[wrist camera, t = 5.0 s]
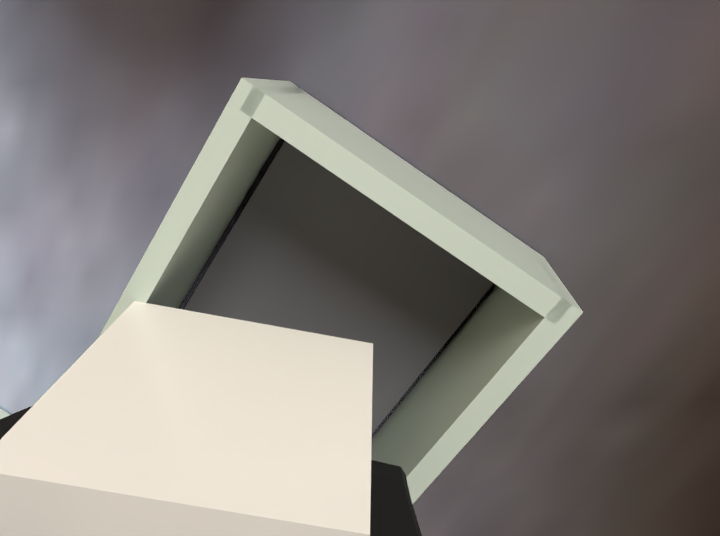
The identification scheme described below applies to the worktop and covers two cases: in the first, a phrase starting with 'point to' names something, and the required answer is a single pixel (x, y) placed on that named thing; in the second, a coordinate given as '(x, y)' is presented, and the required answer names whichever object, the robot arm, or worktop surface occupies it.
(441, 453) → the caddy
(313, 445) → the cube
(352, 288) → the pad
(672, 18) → the worktop surface
